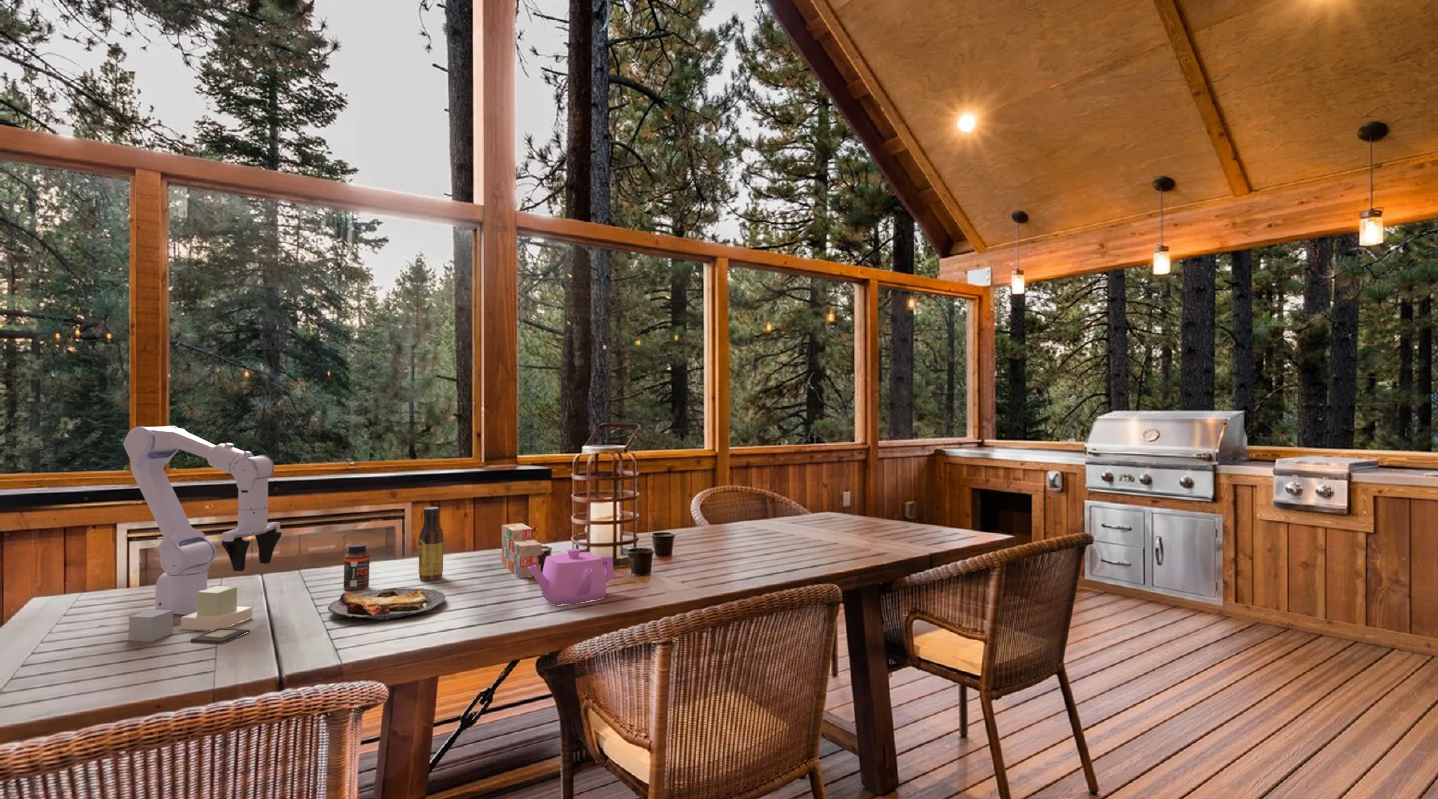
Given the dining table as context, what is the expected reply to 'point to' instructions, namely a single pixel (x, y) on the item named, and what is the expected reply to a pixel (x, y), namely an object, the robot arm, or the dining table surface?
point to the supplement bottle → (356, 568)
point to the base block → (215, 619)
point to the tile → (219, 635)
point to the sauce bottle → (431, 546)
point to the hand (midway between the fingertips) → (252, 566)
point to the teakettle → (574, 577)
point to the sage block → (216, 601)
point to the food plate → (386, 603)
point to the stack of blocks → (519, 549)
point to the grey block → (150, 625)
